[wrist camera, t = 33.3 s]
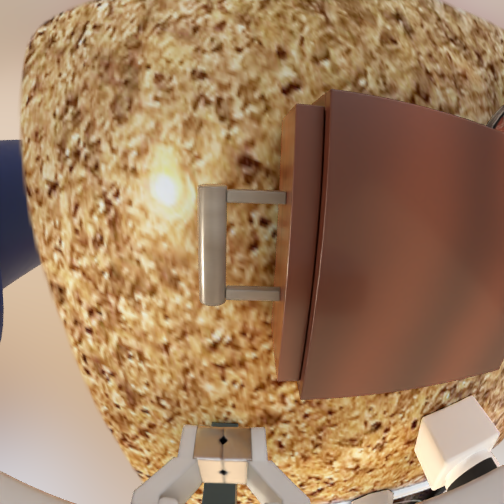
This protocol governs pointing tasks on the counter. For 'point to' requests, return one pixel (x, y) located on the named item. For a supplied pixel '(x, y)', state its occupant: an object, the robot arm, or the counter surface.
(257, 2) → the counter surface
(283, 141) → the drawer
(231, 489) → the dark teal rectangular block
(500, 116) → the lighter
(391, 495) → the flask
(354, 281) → the cabinet
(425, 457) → the medicine bottle
